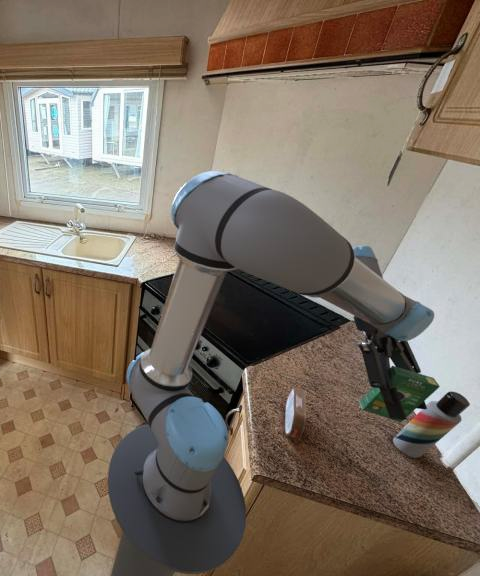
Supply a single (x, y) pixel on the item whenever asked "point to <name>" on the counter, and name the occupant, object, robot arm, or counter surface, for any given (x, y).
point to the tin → (295, 414)
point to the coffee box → (401, 392)
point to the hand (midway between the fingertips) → (408, 412)
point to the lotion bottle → (431, 424)
